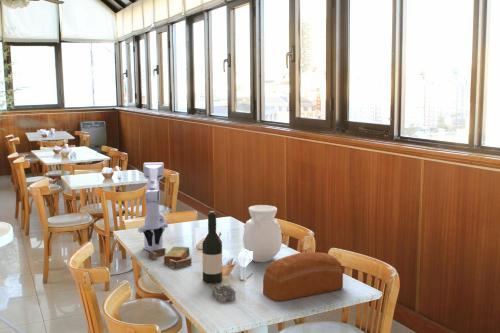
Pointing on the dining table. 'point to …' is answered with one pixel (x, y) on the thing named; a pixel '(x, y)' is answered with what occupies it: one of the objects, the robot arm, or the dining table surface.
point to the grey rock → (224, 293)
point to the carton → (176, 254)
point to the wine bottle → (212, 253)
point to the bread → (302, 276)
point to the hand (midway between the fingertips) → (153, 245)
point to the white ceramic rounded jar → (262, 233)
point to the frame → (172, 263)
